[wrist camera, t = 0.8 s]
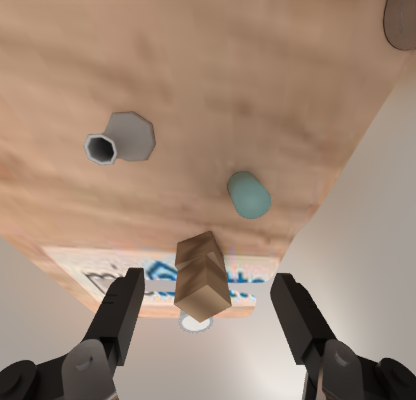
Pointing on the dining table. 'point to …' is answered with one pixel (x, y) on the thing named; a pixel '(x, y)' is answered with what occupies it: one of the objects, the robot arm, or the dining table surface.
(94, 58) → the dining table surface
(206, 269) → the tower top
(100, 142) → the flask
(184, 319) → the grey cup
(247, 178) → the cylinder
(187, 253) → the tower base
